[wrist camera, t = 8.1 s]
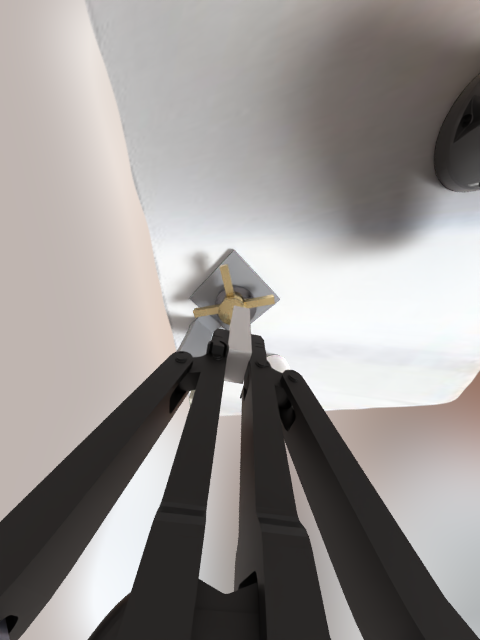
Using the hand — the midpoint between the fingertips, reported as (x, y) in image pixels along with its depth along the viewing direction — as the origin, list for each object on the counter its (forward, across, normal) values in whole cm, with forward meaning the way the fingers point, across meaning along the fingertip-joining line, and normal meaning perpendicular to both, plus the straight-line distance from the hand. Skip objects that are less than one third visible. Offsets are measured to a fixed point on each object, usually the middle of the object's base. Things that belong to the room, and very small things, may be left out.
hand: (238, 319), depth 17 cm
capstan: (+21, 0, -7) cm, 22 cm away
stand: (+22, -2, -9) cm, 24 cm away
